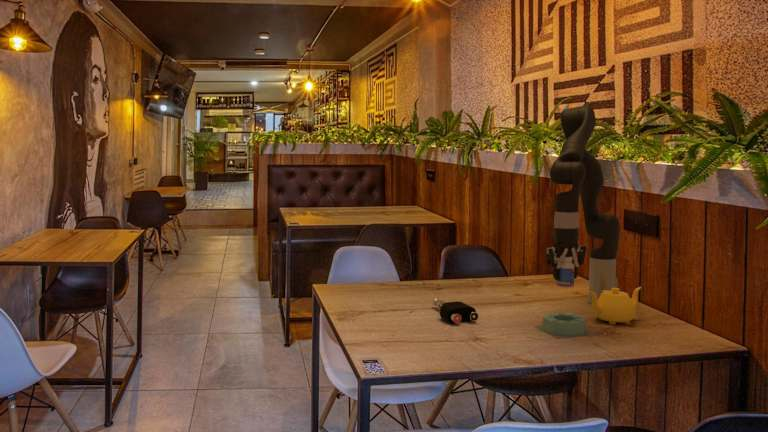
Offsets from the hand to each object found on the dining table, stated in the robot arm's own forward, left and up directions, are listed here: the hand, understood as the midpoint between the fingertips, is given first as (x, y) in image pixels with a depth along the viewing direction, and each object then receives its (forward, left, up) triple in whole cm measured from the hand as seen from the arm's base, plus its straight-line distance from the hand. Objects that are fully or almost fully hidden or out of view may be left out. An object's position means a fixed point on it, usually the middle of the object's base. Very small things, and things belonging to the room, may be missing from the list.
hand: (565, 278), depth 202 cm
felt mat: (0, 0, -17) cm, 17 cm away
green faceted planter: (0, 0, -16) cm, 16 cm away
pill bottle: (0, 0, -3) cm, 3 cm away
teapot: (-22, -4, -17) cm, 28 cm away
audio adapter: (+26, -30, -17) cm, 43 cm away
